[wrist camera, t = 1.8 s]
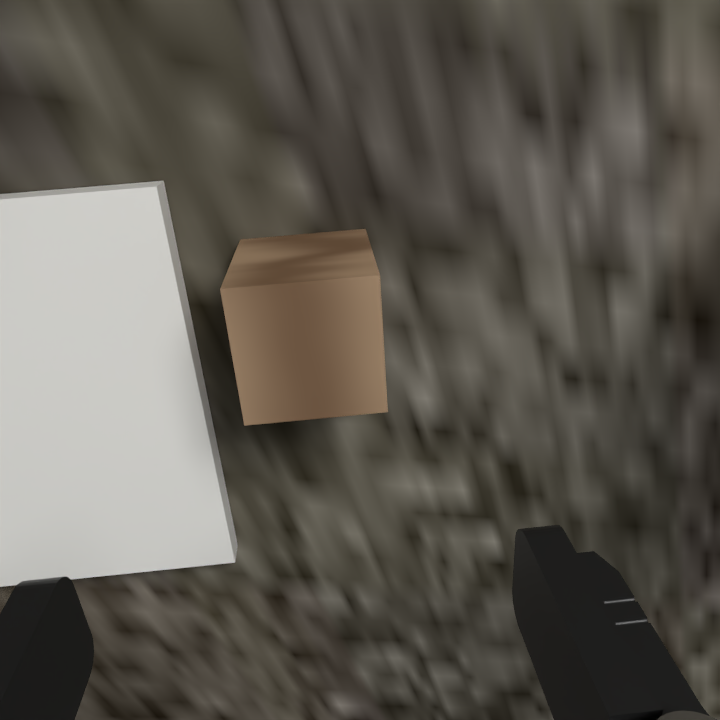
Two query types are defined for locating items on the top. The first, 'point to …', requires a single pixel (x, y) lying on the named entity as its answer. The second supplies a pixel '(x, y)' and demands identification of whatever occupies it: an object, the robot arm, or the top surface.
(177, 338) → the cutting board
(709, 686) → the top surface
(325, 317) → the brown short block
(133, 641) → the top surface
